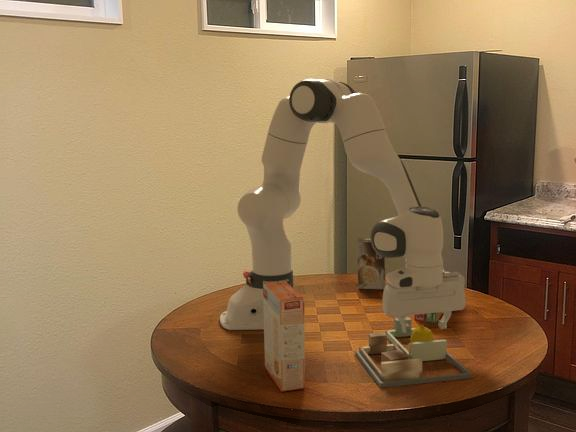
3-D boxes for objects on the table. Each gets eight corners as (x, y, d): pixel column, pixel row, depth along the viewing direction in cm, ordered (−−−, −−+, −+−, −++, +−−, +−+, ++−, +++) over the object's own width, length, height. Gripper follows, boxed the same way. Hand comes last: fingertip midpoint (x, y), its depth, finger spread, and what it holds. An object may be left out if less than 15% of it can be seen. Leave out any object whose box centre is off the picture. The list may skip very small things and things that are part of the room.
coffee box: (385, 284, 214) (385, 237, 211) (385, 289, 208) (385, 242, 205) (358, 283, 215) (358, 237, 213) (357, 289, 209) (357, 241, 206)
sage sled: (410, 362, 150) (410, 344, 149) (384, 335, 167) (384, 319, 166) (446, 358, 151) (447, 340, 151) (417, 332, 169) (418, 316, 168)
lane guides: (380, 387, 138) (380, 383, 137) (355, 354, 156) (355, 350, 155) (471, 377, 141) (471, 373, 141) (437, 346, 159) (437, 343, 159)
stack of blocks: (429, 298, 198) (430, 260, 196) (449, 300, 196) (450, 262, 193) (414, 320, 179) (414, 278, 177) (436, 323, 176) (437, 280, 174)
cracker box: (307, 389, 138) (305, 296, 134) (280, 393, 136) (278, 300, 132) (288, 364, 151) (286, 279, 147) (264, 367, 149) (261, 282, 145)
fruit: (437, 358, 152) (437, 326, 151) (415, 360, 151) (415, 328, 150) (427, 349, 158) (428, 319, 156) (406, 352, 156) (407, 321, 155)
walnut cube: (390, 378, 142) (391, 359, 141) (381, 371, 146) (381, 352, 145) (408, 375, 144) (408, 356, 143) (398, 367, 148) (398, 349, 147)
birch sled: (382, 383, 139) (382, 363, 138) (358, 352, 157) (358, 334, 156) (422, 379, 141) (422, 359, 140) (393, 348, 158) (394, 331, 157)
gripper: (458, 268, 156) (458, 321, 159) (379, 275, 153) (380, 329, 155) (470, 274, 150) (470, 330, 153) (388, 282, 146) (389, 338, 149)
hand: (424, 330), depth 154 cm, fingers open, 8 cm apart
